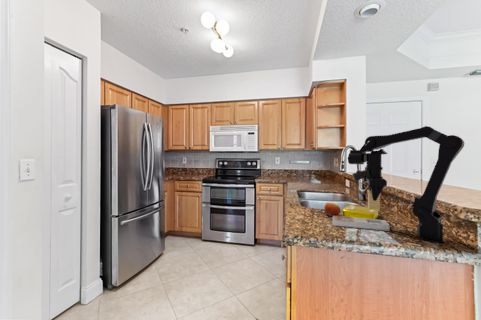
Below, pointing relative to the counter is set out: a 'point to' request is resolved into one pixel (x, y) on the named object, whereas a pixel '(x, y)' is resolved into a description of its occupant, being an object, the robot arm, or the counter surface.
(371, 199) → the brass peg
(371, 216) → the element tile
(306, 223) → the counter surface
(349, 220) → the rail bar
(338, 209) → the fruit
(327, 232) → the counter surface
